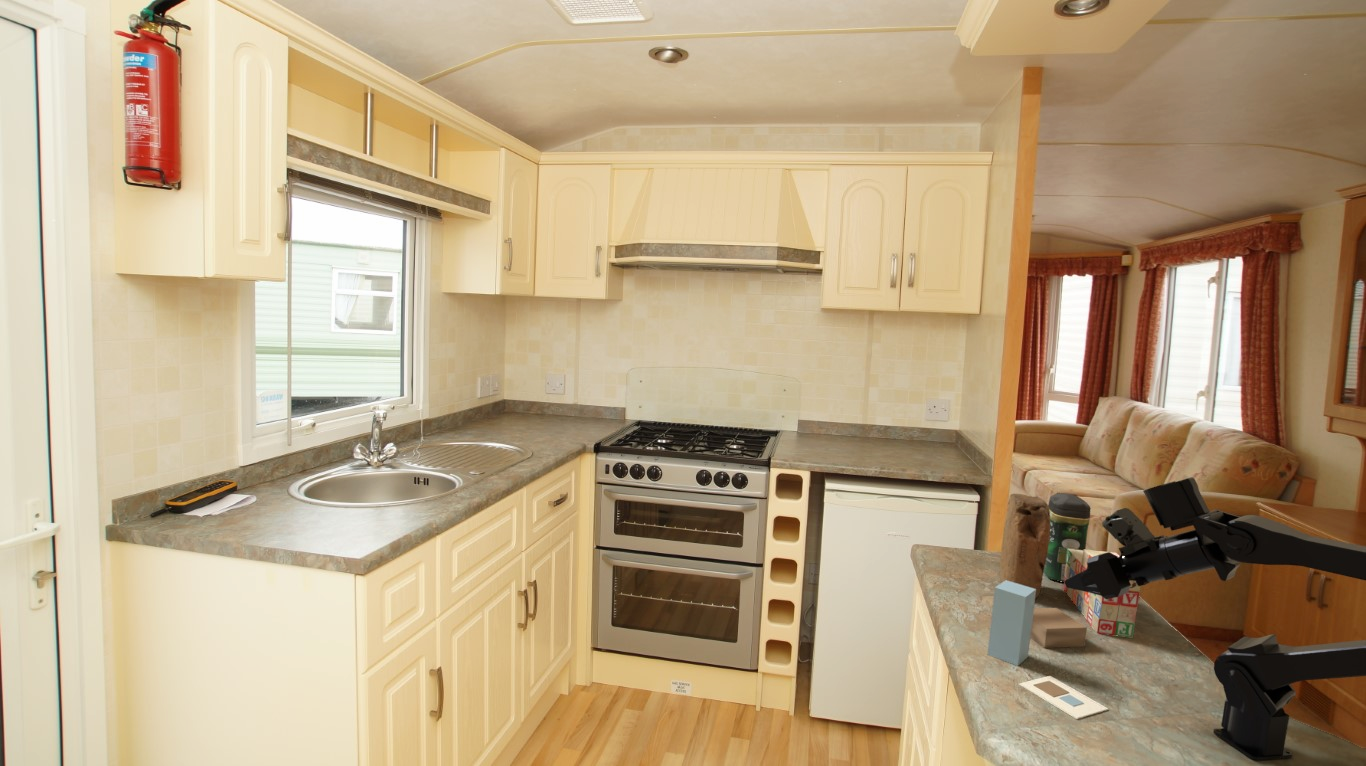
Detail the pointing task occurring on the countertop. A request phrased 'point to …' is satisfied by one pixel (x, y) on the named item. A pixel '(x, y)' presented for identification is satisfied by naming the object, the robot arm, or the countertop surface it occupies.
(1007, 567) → the block
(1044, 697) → the page
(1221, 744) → the countertop surface
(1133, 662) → the countertop surface
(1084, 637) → the walnut base
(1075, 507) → the coffee jar
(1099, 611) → the stack of blocks
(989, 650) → the blue brick
